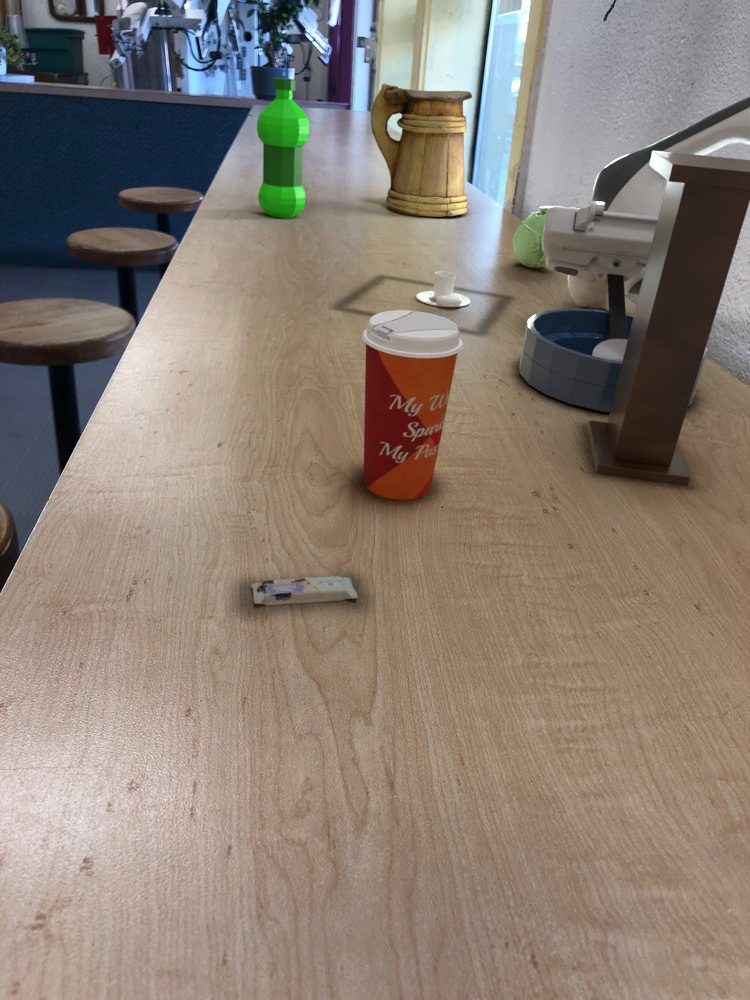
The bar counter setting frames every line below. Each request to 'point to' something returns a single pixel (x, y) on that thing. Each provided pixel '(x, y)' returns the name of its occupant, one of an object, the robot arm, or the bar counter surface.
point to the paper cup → (406, 399)
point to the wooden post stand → (673, 316)
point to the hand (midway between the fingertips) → (639, 212)
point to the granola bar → (303, 590)
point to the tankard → (423, 150)
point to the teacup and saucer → (443, 292)
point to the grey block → (614, 321)
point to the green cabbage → (531, 240)
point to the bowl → (573, 357)
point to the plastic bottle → (282, 152)
